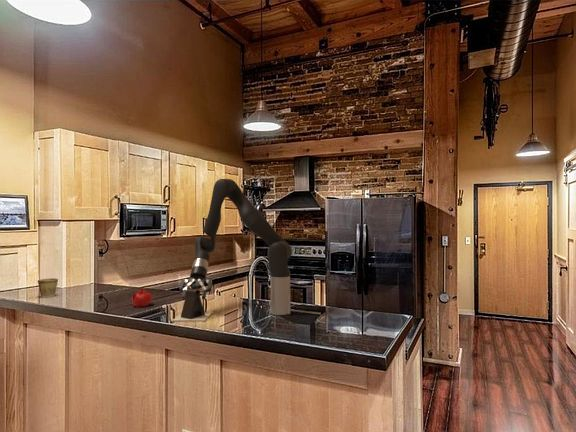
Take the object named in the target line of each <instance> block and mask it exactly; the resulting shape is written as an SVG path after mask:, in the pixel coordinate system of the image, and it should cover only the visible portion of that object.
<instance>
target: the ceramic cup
mask: <svg viewBox="0 0 576 432" xmlns="http://www.w3.org/2000/svg"><path fill="white" fill-rule="evenodd" d="M58 282H59V281H58V278H51V277H50V278H41V279H38V280H37V284H38V285H37V286H38V289H39V293H40V298H41V299H48V298H53V297H55V296H56V291H57V286H58Z"/></svg>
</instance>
